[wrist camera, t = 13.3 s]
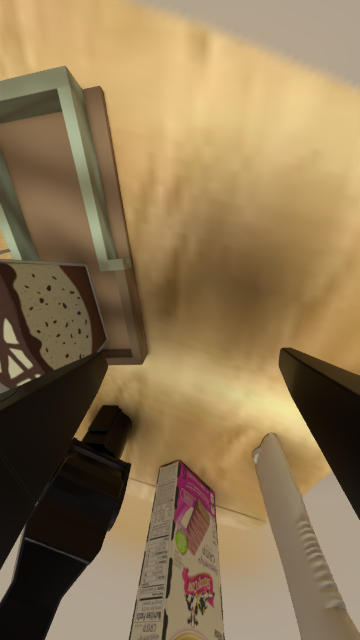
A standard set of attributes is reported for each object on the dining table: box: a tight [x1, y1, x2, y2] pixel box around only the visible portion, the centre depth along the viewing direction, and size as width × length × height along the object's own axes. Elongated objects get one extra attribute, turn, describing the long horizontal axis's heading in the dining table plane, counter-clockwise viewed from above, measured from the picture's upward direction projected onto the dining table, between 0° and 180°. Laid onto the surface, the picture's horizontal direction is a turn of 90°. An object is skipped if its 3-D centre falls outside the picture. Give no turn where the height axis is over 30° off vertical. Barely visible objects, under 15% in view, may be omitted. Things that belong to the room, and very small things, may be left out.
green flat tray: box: [0, 66, 148, 365], centre depth 19 cm, size 25×13×2 cm, turn 5°
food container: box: [0, 249, 109, 393], centre depth 17 cm, size 12×6×10 cm, turn 6°
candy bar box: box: [129, 460, 225, 640], centre depth 25 cm, size 11×5×16 cm, turn 38°
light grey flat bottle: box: [253, 433, 360, 640], centre depth 18 cm, size 11×4×22 cm, turn 179°
